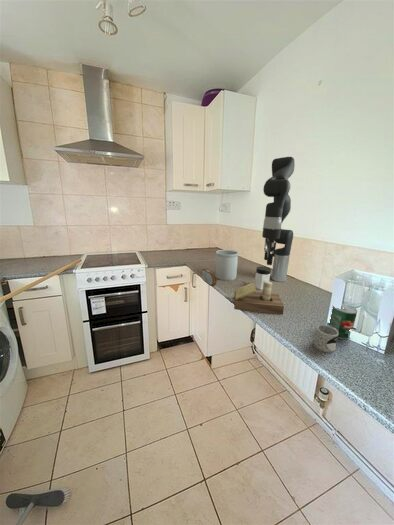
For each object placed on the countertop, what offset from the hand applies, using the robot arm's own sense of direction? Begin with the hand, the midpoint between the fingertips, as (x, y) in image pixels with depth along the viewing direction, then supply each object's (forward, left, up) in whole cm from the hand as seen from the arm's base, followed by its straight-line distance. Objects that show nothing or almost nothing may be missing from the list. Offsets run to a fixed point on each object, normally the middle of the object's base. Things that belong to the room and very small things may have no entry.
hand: (267, 262), depth 101 cm
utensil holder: (-38, -20, -23) cm, 49 cm away
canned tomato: (+18, +27, -23) cm, 39 cm away
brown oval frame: (-24, -30, -23) cm, 45 cm away
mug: (+27, +19, -23) cm, 40 cm away
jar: (-25, +2, -23) cm, 34 cm away
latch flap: (0, -9, -16) cm, 18 cm away
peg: (0, +1, -22) cm, 22 cm away
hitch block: (0, -3, -22) cm, 22 cm away
